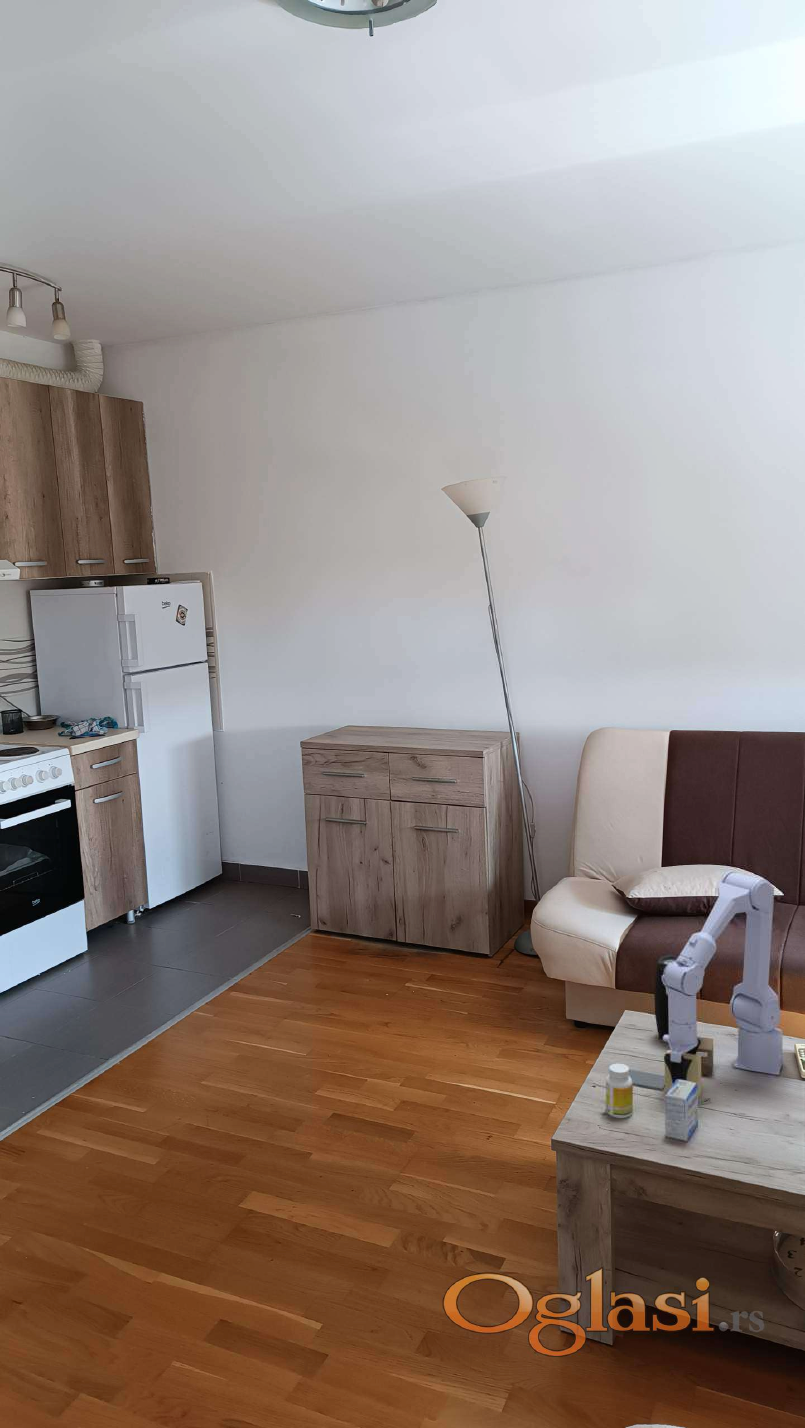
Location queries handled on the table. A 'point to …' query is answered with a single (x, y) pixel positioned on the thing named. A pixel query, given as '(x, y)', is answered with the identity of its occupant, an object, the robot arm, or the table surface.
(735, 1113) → the table surface
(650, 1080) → the mat
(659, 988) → the portable speaker
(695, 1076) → the cream rectangular block
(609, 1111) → the supplement bottle
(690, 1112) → the medicine box
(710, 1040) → the letter cube
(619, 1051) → the table surface
